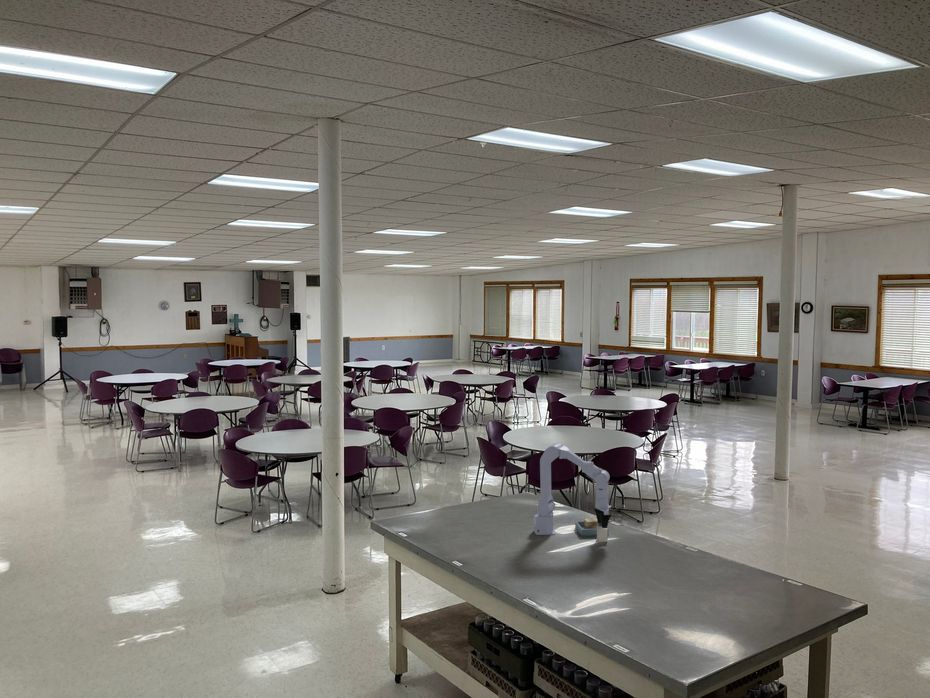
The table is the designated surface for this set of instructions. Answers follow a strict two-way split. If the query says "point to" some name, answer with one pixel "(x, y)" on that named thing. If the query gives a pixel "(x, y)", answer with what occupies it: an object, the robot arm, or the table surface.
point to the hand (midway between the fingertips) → (602, 525)
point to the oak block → (591, 523)
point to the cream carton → (602, 534)
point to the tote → (585, 530)
